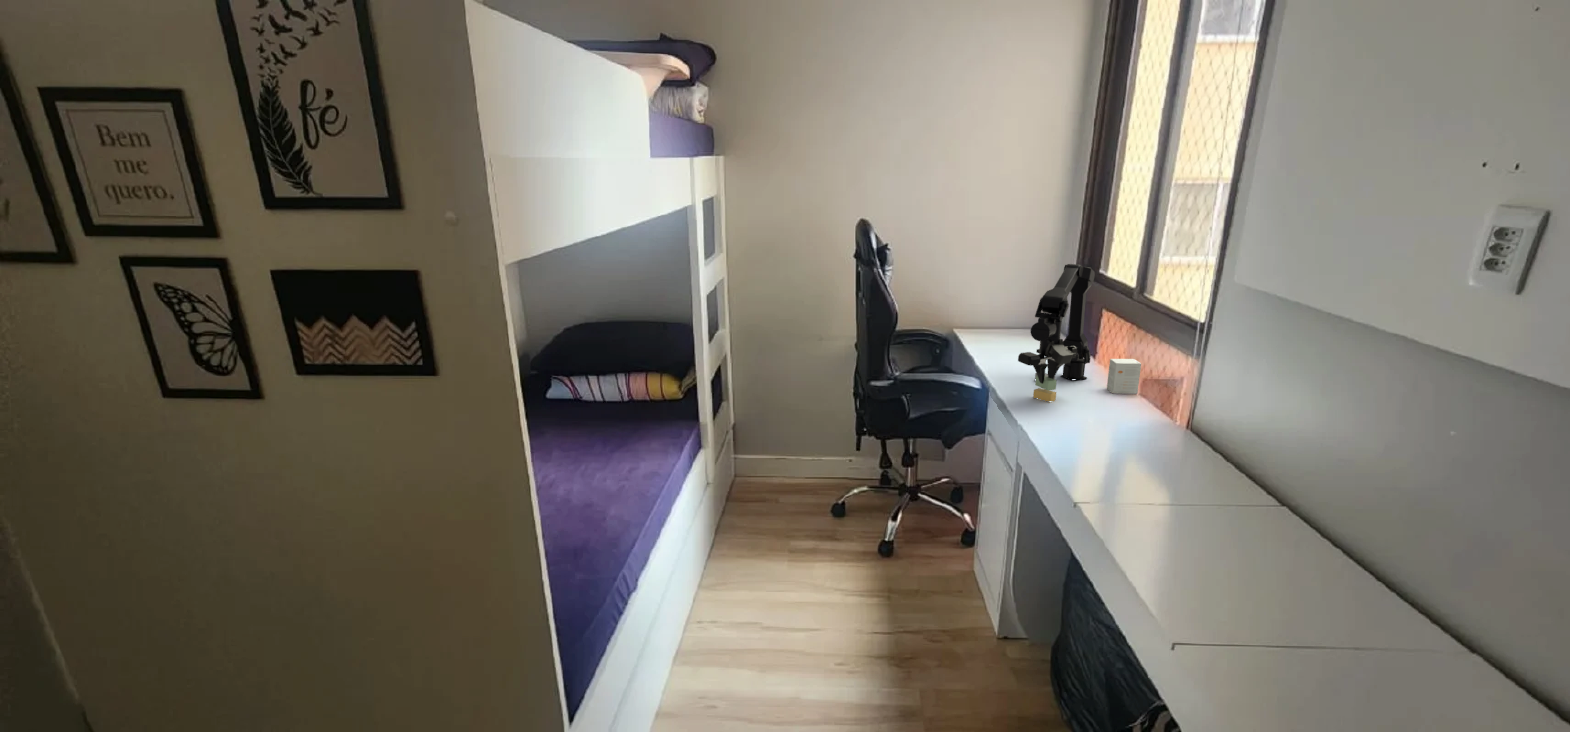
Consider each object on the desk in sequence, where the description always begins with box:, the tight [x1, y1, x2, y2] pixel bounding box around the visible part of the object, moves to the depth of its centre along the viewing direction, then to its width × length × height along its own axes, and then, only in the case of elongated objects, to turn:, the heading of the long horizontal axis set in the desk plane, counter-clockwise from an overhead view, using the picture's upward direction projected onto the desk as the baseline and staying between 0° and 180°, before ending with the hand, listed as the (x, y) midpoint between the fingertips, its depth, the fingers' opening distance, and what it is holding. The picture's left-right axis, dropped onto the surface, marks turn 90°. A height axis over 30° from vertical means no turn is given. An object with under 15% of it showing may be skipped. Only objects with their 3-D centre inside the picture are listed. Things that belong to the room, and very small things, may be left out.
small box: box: [1106, 358, 1142, 395], centre depth 222 cm, size 8×6×10 cm
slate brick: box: [1034, 372, 1056, 380], centre depth 233 cm, size 6×3×3 cm, turn 25°
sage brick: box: [1034, 376, 1057, 391], centre depth 215 cm, size 6×3×3 cm, turn 18°
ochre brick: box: [1032, 387, 1057, 402], centre depth 216 cm, size 6×3×3 cm, turn 40°
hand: (1045, 382), depth 215 cm, fingers closed on sage brick, 3 cm apart
